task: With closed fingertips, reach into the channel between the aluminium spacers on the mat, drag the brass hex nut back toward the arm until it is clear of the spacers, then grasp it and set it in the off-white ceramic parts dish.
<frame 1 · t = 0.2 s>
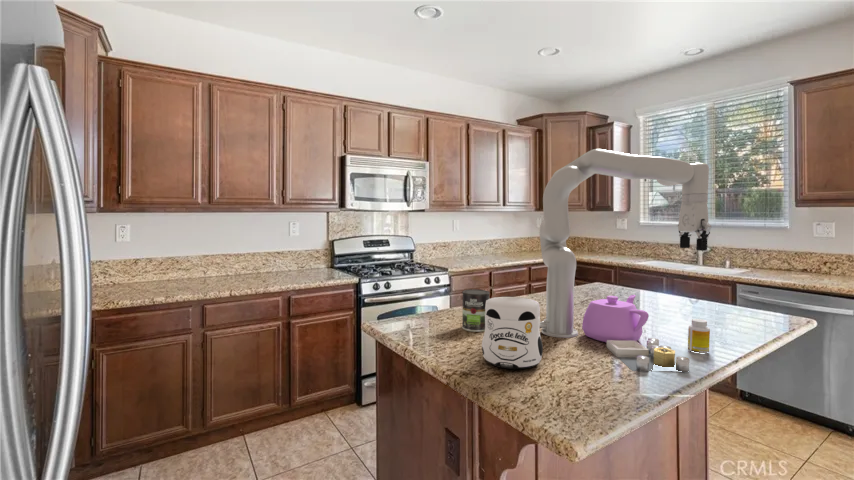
hand: (692, 249, 143), 31 cm above the countertop, tool pointing down, fingers open, 9 cm apart
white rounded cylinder: (511, 363, 119), on the countertop
teapot: (612, 339, 142), on the countertop
supplement bottle: (698, 353, 128), on the countertop
coffee can: (475, 328, 156), on the countertop
mat: (644, 360, 121), on the countertop
spacers: (647, 360, 121), resting on mat
nut: (664, 364, 117), resting on mat
dish: (626, 352, 127), resting on mat
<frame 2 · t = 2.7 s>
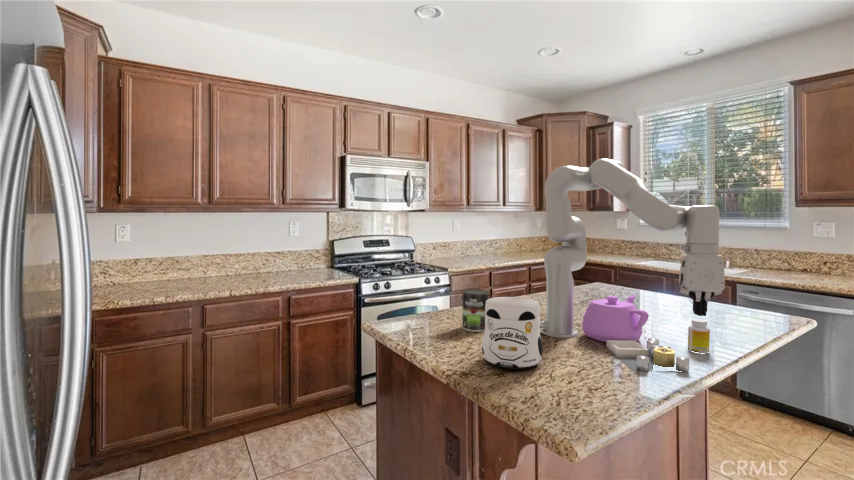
hand: (699, 314, 115), 15 cm above the countertop, tool pointing down, fingers closed
nothing on the countertop moved.
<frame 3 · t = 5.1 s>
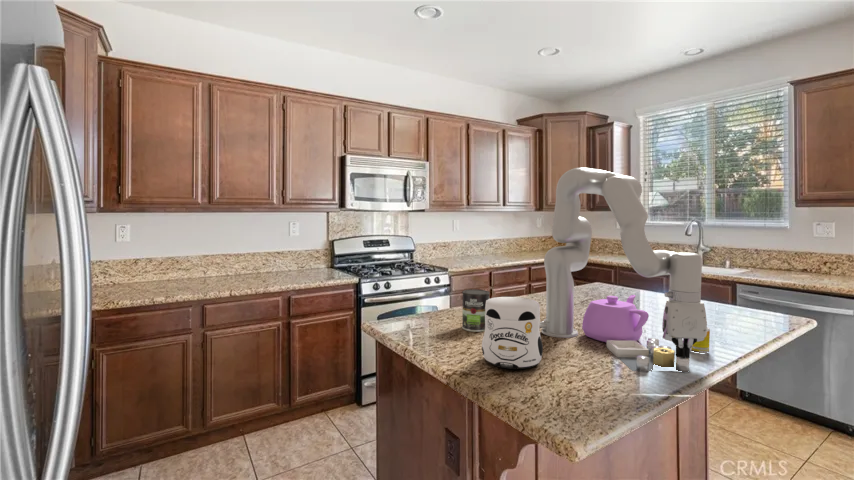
hand: (682, 360, 116), 2 cm above the countertop, tool pointing down, fingers closed
nut: (663, 364, 117), resting on mat, touching gripper
everything else where it was.
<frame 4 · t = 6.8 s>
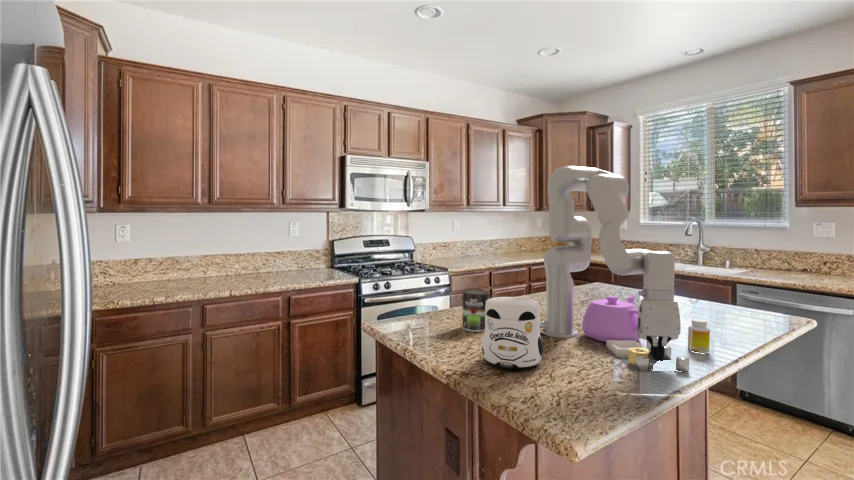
hand: (657, 358, 116), 2 cm above the countertop, tool pointing down, fingers closed
nut: (639, 364, 117), resting on mat, touching gripper
everything else where it was.
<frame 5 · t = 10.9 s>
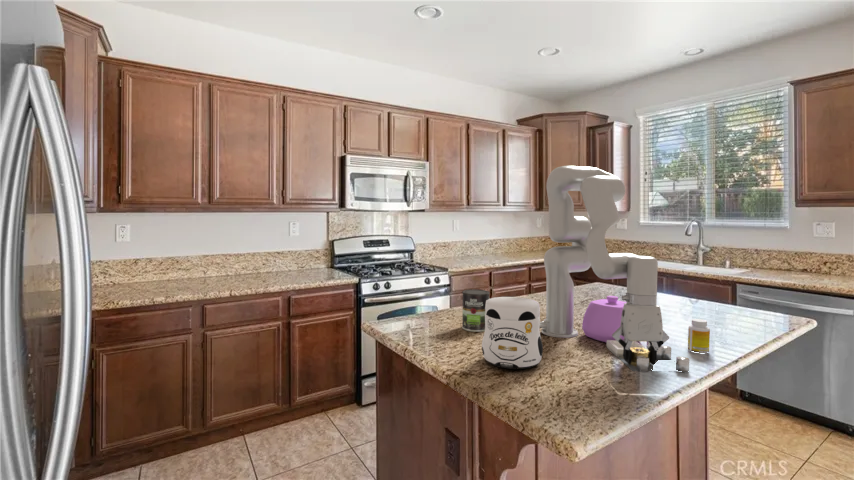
hand: (639, 361, 117), 1 cm above the countertop, tool pointing down, fingers closed on nut, 5 cm apart
nut: (639, 363, 117), resting on mat, touching gripper
everything else where it was.
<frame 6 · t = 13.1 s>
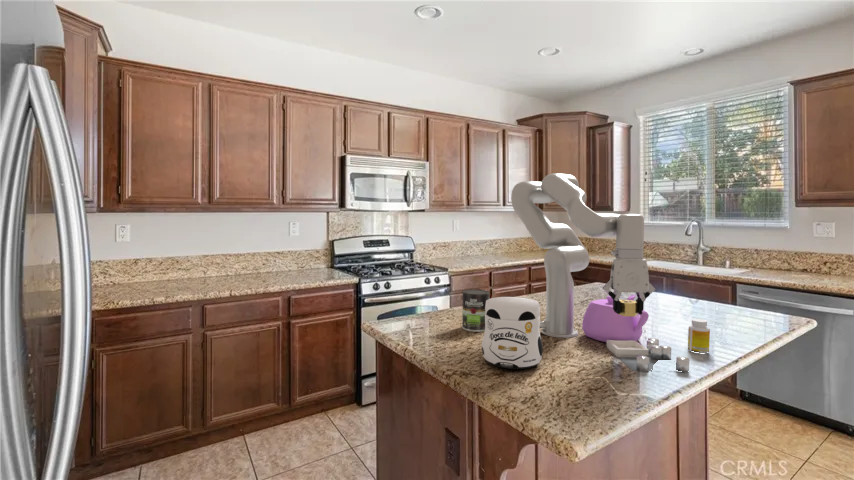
hand: (627, 312, 126), 13 cm above the countertop, tool pointing down, fingers closed on nut, 5 cm apart
nut: (627, 314, 126), point 12 cm above the countertop, touching gripper
everything else where it was.
when the fingers open (3 cm above the countertop, at t = 15.2 s): nut drops 1 cm, resting on dish.
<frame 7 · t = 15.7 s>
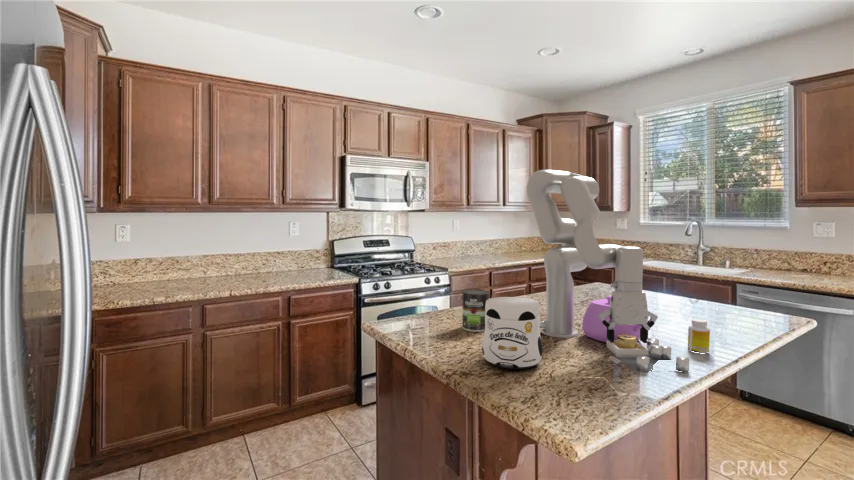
hand: (627, 341, 127), 4 cm above the countertop, tool pointing down, fingers open, 9 cm apart
nut: (626, 349, 127), point 1 cm above the countertop, touching dish
everything else where it was.
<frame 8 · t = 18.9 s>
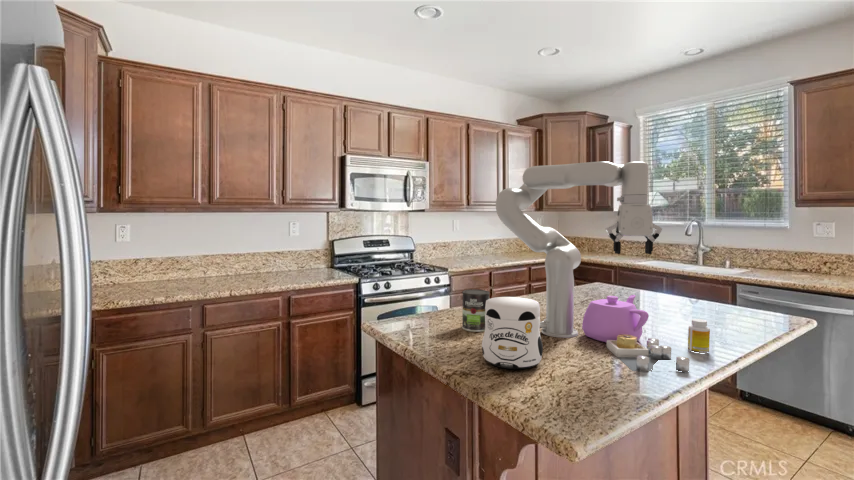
hand: (632, 253, 133), 30 cm above the countertop, tool pointing down, fingers open, 9 cm apart
nothing on the countertop moved.
at the end: nut inside the target area on the dish (0.3 cm from its centre), point 0.8 cm above the dish's base; nut moved 11.9 cm from its start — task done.
